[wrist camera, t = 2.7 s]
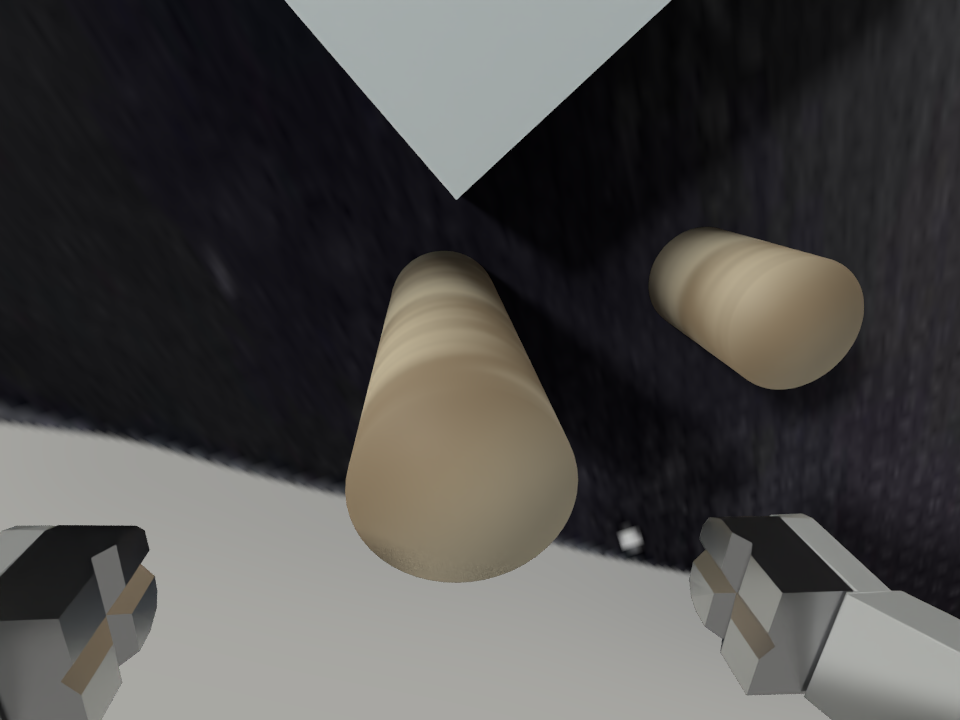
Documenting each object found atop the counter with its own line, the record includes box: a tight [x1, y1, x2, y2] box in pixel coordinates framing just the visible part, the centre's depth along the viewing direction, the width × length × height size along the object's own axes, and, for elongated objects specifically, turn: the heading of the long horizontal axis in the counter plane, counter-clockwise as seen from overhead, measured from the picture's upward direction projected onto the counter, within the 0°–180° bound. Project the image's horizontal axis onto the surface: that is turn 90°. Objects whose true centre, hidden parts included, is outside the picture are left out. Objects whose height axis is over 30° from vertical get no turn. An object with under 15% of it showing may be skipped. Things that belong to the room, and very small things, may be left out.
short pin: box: [649, 227, 864, 390], centre depth 18 cm, size 4×4×6 cm
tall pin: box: [345, 251, 578, 583], centre depth 15 cm, size 4×4×12 cm
